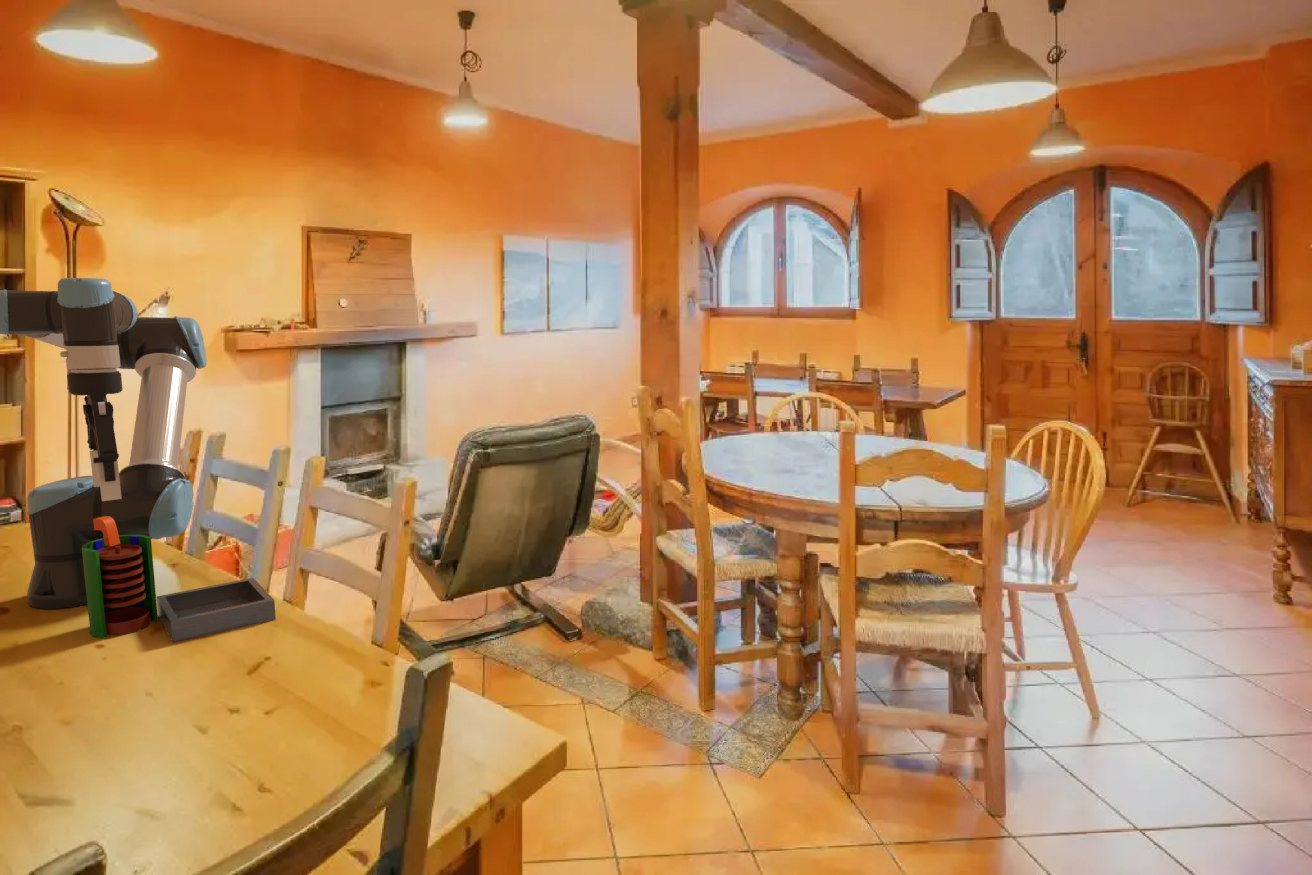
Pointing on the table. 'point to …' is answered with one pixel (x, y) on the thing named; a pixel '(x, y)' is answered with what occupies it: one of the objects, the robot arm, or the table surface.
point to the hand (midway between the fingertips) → (107, 492)
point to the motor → (118, 581)
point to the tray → (214, 609)
